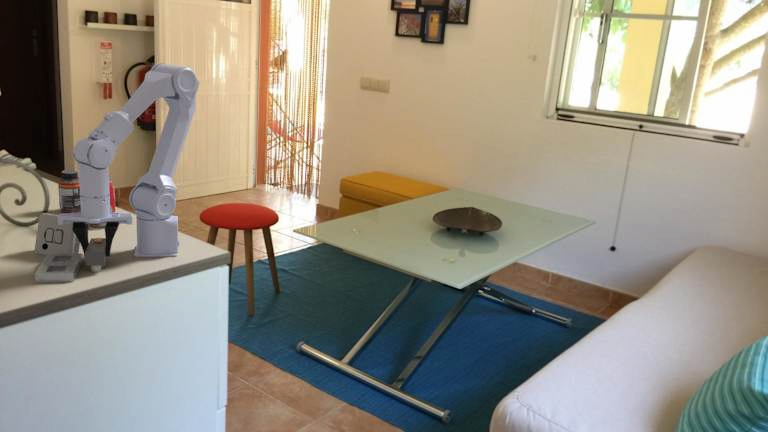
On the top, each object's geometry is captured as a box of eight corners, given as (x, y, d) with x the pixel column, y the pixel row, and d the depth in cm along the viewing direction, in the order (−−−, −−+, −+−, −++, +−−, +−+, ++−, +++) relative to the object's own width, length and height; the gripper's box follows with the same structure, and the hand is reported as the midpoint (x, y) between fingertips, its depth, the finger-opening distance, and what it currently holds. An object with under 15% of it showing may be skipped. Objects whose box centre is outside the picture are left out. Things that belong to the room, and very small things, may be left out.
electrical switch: (33, 254, 141) (33, 214, 140) (49, 249, 146) (50, 210, 145) (70, 260, 140) (71, 220, 138) (85, 255, 145) (86, 216, 143)
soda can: (118, 227, 164) (117, 182, 161) (89, 229, 161) (87, 184, 157) (112, 219, 170) (111, 176, 167) (84, 222, 166) (82, 178, 163)
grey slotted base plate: (82, 262, 139) (82, 253, 139) (73, 282, 128) (73, 273, 128) (47, 262, 137) (46, 254, 137) (35, 283, 126) (34, 274, 126)
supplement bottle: (68, 207, 178) (66, 168, 175) (88, 209, 177) (86, 170, 174) (55, 212, 172) (52, 172, 169) (75, 215, 171) (73, 174, 168)
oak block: (105, 263, 140) (105, 255, 139) (104, 268, 137) (103, 260, 136) (92, 264, 139) (91, 255, 138) (90, 269, 136) (89, 260, 135)
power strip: (109, 258, 142) (108, 236, 141) (104, 272, 134) (103, 250, 133) (91, 258, 141) (91, 236, 140) (85, 273, 133) (84, 250, 132)
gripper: (53, 199, 128) (57, 262, 131) (130, 200, 132) (131, 260, 136) (59, 191, 134) (63, 251, 138) (132, 191, 138) (134, 250, 142)
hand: (97, 255), depth 137 cm, fingers closed on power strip, 4 cm apart
